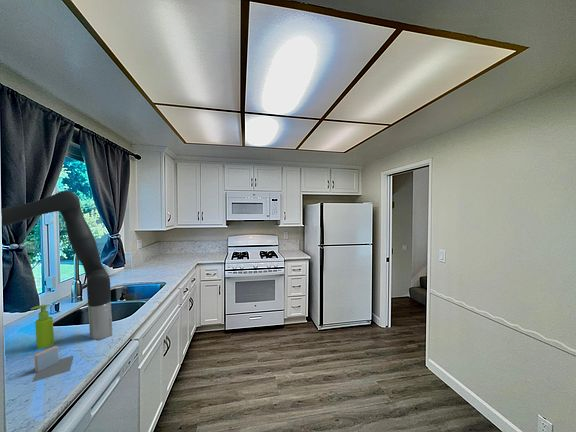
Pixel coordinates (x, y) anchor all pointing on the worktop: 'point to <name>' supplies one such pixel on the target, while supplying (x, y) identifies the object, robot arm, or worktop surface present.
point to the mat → (55, 369)
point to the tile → (46, 358)
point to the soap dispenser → (44, 328)
